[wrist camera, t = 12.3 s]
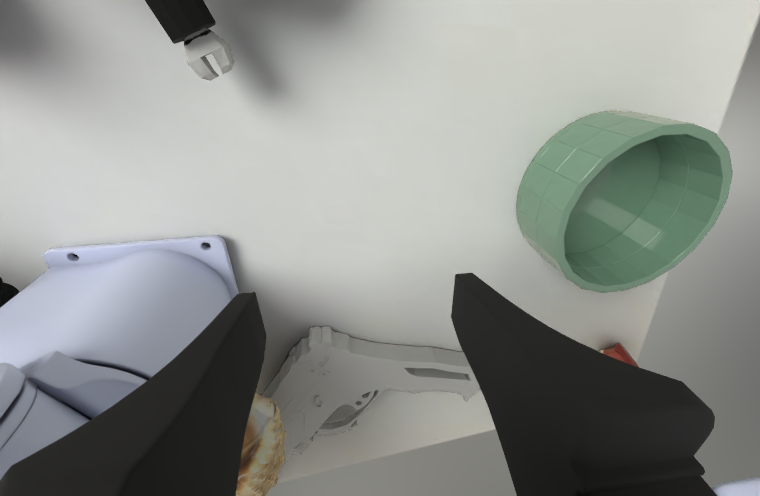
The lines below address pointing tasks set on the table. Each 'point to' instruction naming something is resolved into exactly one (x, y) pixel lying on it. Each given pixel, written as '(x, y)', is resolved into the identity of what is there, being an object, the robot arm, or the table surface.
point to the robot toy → (193, 34)
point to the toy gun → (355, 380)
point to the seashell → (261, 449)
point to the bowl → (622, 197)
